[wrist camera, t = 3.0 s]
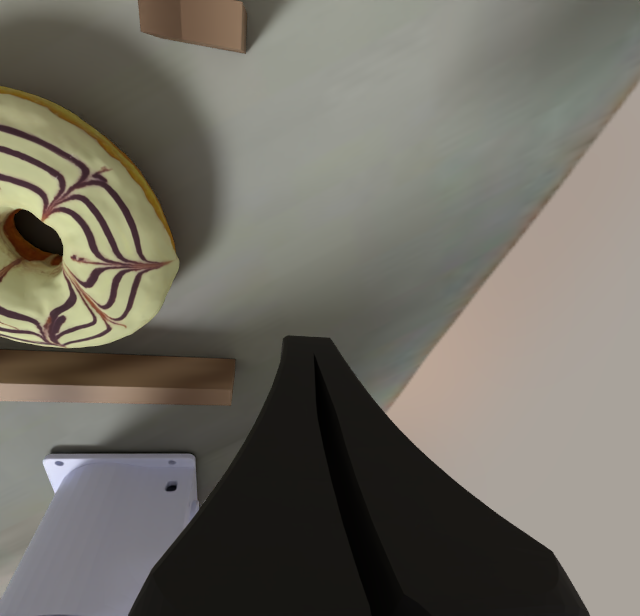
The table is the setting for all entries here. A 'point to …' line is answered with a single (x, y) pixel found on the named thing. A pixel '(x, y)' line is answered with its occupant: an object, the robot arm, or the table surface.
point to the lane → (138, 370)
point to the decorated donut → (76, 231)
